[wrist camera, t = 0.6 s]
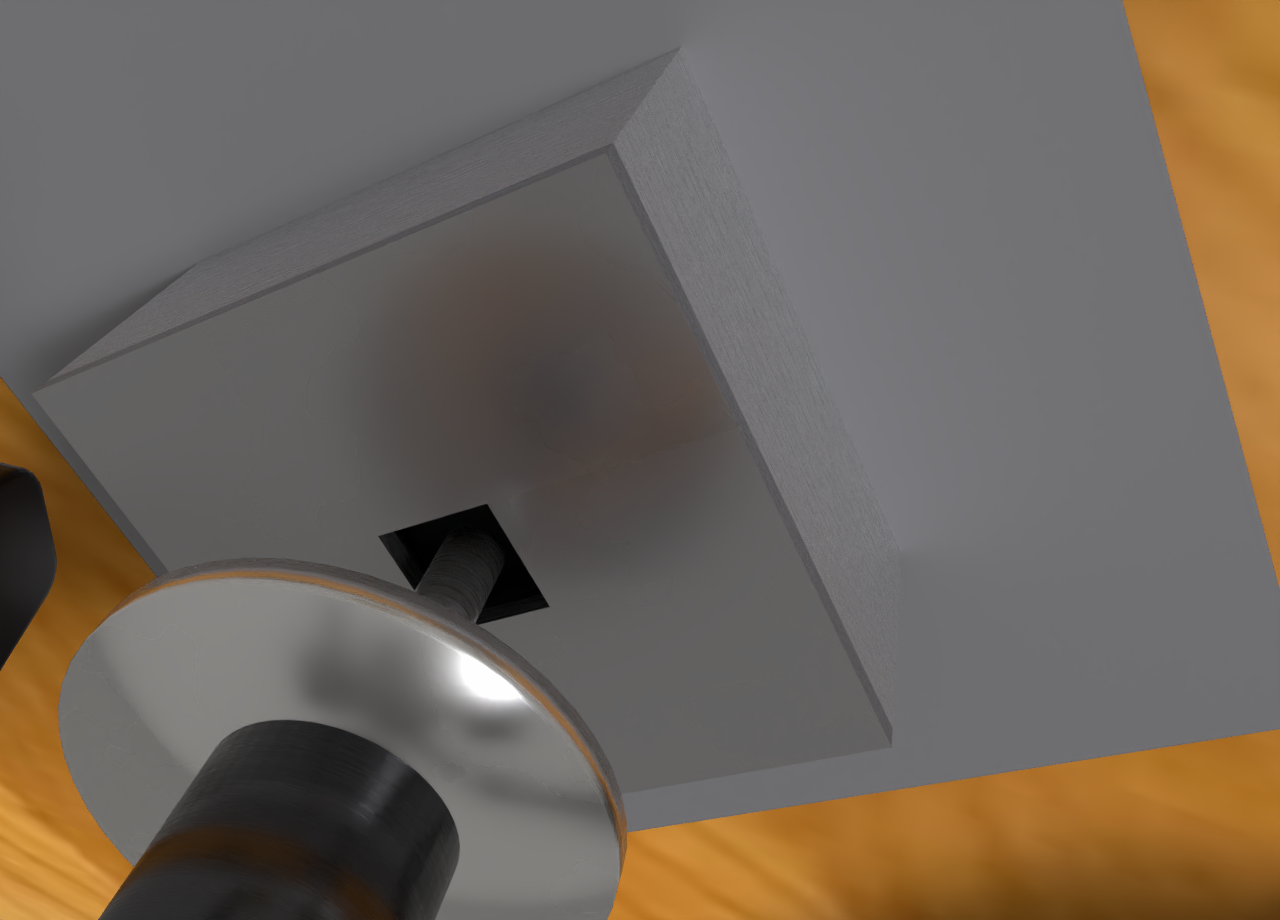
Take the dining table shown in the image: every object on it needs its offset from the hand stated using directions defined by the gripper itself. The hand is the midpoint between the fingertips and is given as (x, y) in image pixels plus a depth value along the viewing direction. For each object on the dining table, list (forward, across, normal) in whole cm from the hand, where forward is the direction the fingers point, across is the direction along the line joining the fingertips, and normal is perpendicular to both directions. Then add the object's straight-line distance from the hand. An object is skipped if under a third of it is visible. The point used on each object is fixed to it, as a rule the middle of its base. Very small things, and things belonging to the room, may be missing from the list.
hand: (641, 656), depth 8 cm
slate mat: (+13, +4, +6) cm, 15 cm away
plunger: (+8, +4, +6) cm, 11 cm away
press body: (+13, +4, +6) cm, 15 cm away
